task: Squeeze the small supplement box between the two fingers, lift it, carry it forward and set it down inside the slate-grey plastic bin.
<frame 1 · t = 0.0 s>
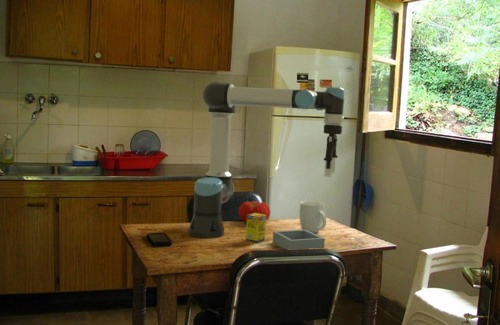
hand: (329, 174, 233), 28 cm above the table, fingers open, 13 cm apart
supplement box: (255, 241, 228), on the table
mug: (312, 232, 249), on the table
bin: (297, 246, 223), on the table
tomato: (253, 222, 262), on the table
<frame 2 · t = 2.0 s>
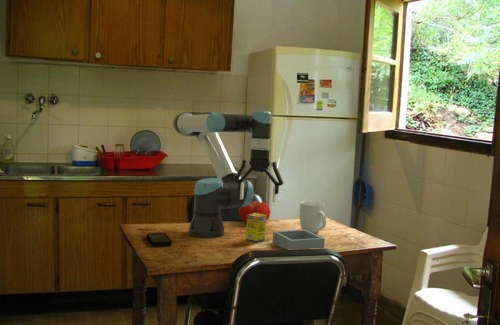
hand: (257, 200, 226), 17 cm above the table, fingers open, 13 cm apart
nothing on the table moved.
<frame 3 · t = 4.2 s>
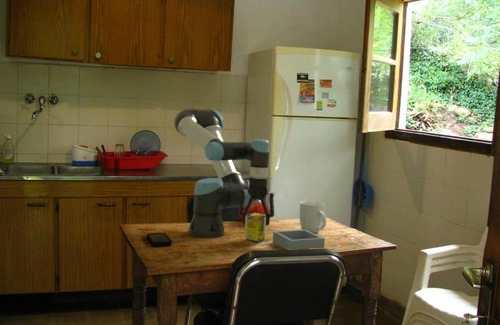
hand: (255, 232, 228), 4 cm above the table, fingers closed on supplement box, 7 cm apart
supplement box: (255, 241, 228), on the table, touching gripper
everything else where it was.
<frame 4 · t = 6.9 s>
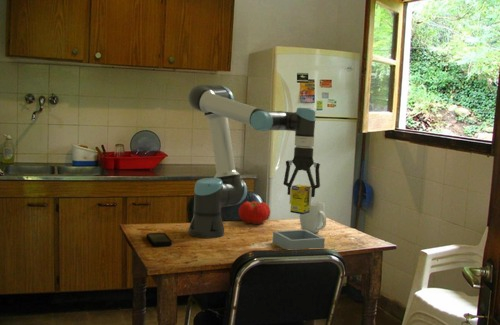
hand: (300, 203, 221), 17 cm above the table, fingers closed on supplement box, 7 cm apart
supplement box: (299, 213, 221), point 14 cm above the table, touching gripper
everything else where it was.
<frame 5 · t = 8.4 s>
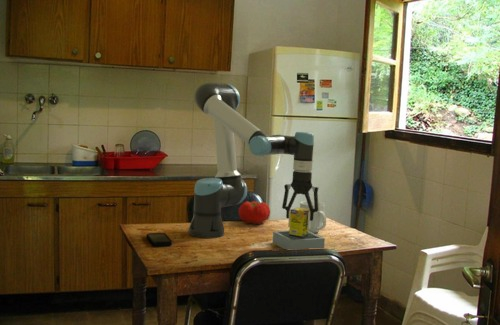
hand: (299, 227, 222), 8 cm above the table, fingers closed on supplement box, 7 cm apart
supplement box: (298, 236, 222), point 4 cm above the table, touching gripper
everything else where it was.
when the fingers open (6 cm above the table, at t = 9.6 s): supplement box drops 2 cm, resting on bin.
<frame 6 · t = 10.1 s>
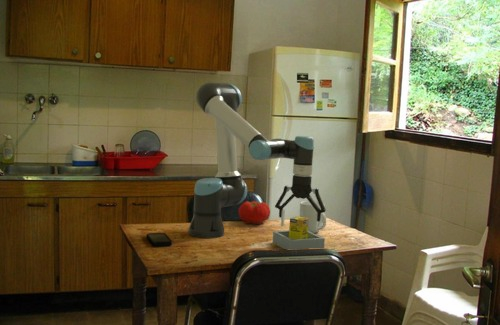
hand: (298, 227, 222), 8 cm above the table, fingers open, 13 cm apart
supplement box: (297, 245, 223), resting on bin
everything else where it was.
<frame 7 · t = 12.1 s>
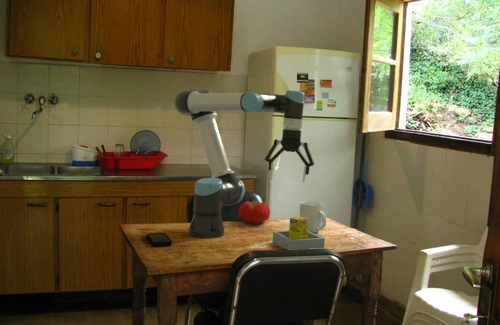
hand: (287, 180, 227), 26 cm above the table, fingers open, 13 cm apart
nothing on the table moved.
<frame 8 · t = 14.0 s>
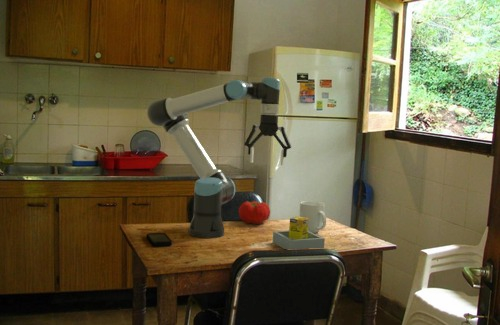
hand: (266, 163, 238), 31 cm above the table, fingers open, 13 cm apart
nothing on the table moved.
at the end: supplement box 0.1 cm from the bin (horizontally); supplement box resting on bin; the gripper is holding nothing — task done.
